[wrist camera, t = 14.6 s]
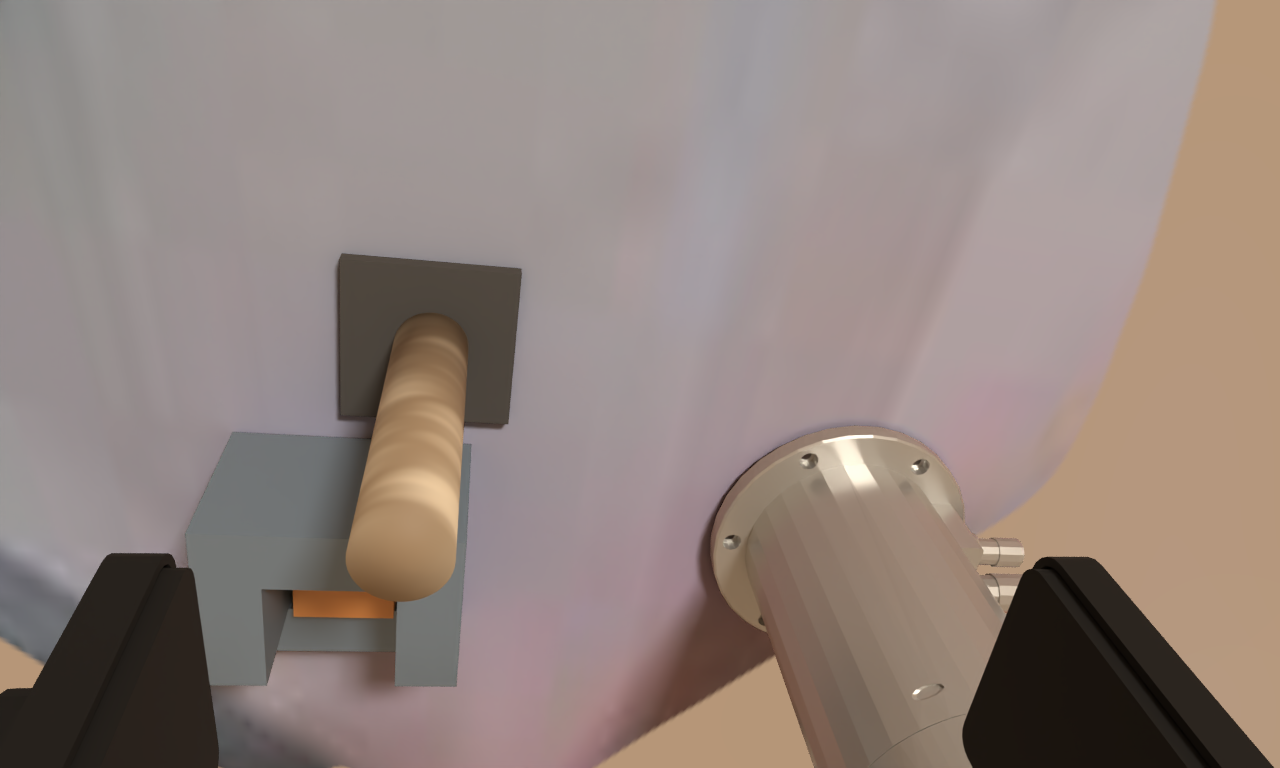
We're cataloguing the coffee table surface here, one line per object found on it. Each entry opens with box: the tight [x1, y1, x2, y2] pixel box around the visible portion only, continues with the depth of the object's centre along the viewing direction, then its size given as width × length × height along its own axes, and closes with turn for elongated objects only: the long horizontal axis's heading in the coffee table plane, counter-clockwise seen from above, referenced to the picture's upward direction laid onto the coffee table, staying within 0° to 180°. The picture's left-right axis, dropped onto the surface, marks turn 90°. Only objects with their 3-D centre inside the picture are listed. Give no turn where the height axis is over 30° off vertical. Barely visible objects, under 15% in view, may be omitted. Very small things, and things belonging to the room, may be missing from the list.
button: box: [293, 590, 396, 618], centre depth 41 cm, size 4×4×2 cm
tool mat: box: [340, 254, 522, 424], centre depth 39 cm, size 7×7×1 cm
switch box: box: [185, 432, 471, 687], centre depth 40 cm, size 10×10×7 cm
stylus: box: [346, 313, 468, 602], centre depth 33 cm, size 3×3×14 cm
